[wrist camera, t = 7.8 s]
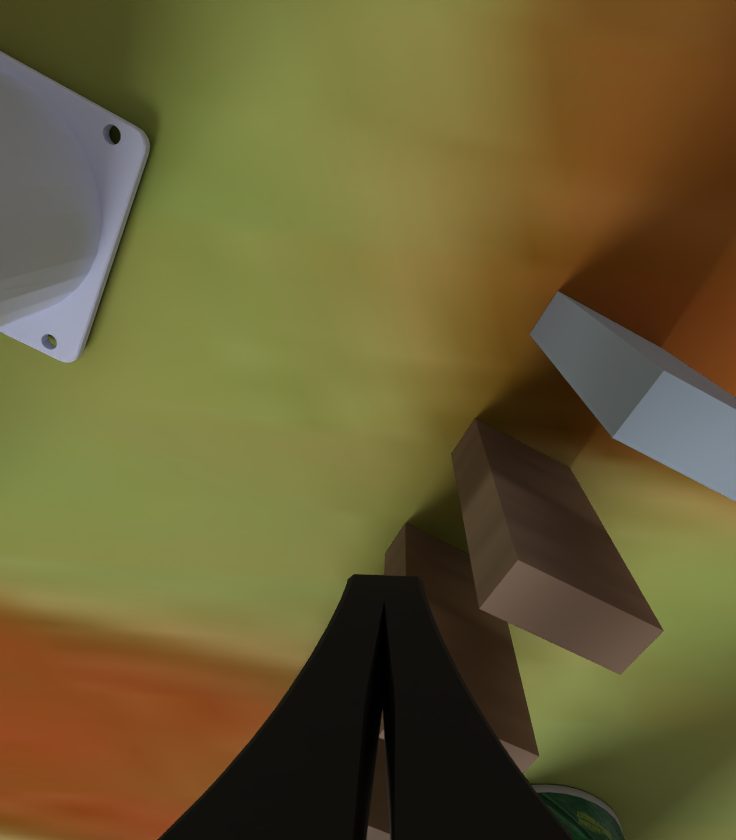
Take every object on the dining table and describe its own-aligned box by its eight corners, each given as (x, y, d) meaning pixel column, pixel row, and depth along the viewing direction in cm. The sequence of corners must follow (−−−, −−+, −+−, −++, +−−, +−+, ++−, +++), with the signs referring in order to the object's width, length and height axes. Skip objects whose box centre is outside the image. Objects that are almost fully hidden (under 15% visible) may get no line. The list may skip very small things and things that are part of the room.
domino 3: (385, 553, 22) (377, 736, 15) (405, 523, 22) (407, 699, 15) (472, 594, 23) (505, 790, 16) (494, 566, 22) (539, 756, 15)
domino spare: (529, 334, 19) (612, 438, 11) (557, 291, 18) (663, 370, 11) (630, 388, 19) (771, 519, 12) (660, 347, 19) (829, 460, 11)
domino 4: (451, 454, 21) (479, 609, 13) (475, 418, 20) (518, 559, 13) (544, 501, 21) (620, 675, 14) (569, 468, 21) (663, 631, 13)
